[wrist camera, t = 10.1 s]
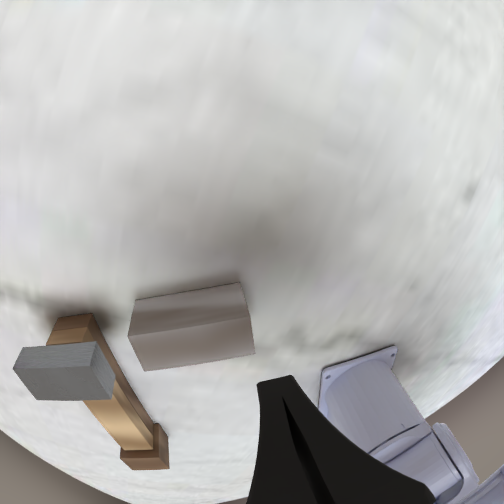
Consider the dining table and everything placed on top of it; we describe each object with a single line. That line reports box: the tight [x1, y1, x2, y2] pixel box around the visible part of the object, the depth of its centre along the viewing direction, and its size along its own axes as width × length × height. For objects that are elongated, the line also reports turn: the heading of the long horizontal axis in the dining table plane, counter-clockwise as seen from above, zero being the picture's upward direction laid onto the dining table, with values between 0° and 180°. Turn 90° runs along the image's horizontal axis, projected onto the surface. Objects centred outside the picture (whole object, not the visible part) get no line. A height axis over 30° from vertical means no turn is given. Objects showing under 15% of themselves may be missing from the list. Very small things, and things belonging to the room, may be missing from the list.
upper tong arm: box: [46, 327, 153, 450], centre depth 19 cm, size 14×3×2 cm, turn 6°
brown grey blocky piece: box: [52, 282, 255, 470], centre depth 21 cm, size 18×14×4 cm
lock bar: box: [13, 341, 116, 401], centre depth 14 cm, size 3×6×2 cm, turn 96°
